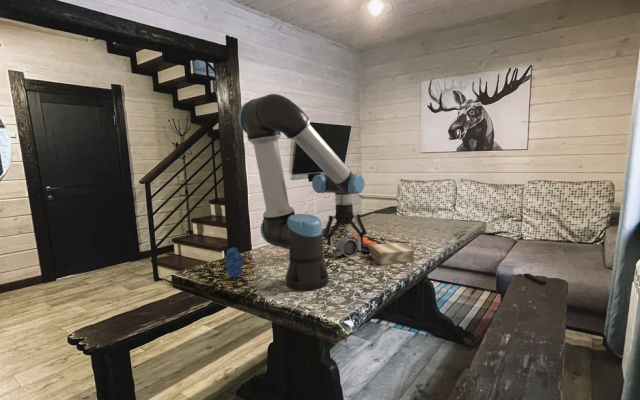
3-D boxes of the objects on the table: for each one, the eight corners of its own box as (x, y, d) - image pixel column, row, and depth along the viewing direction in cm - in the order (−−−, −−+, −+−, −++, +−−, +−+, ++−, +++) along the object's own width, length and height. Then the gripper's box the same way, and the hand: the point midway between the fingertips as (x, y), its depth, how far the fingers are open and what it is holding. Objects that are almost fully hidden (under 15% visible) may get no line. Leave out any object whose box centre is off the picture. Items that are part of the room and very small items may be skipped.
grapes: (253, 279, 122) (250, 247, 120) (236, 284, 117) (233, 251, 116) (238, 271, 130) (235, 242, 129) (221, 276, 126) (219, 245, 125)
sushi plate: (340, 241, 174) (340, 234, 174) (391, 235, 183) (391, 228, 182) (364, 256, 147) (364, 247, 146) (423, 248, 155) (422, 240, 155)
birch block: (380, 265, 132) (380, 253, 131) (370, 256, 146) (370, 244, 145) (413, 262, 134) (413, 250, 133) (400, 253, 148) (400, 242, 147)
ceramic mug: (350, 251, 154) (349, 234, 153) (358, 255, 146) (357, 238, 145) (329, 254, 150) (328, 238, 149) (336, 259, 142) (335, 242, 141)
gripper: (367, 201, 151) (368, 247, 153) (315, 204, 147) (317, 251, 150) (373, 203, 144) (374, 251, 146) (318, 206, 140) (320, 256, 142)
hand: (345, 251), depth 148 cm, fingers open, 12 cm apart
